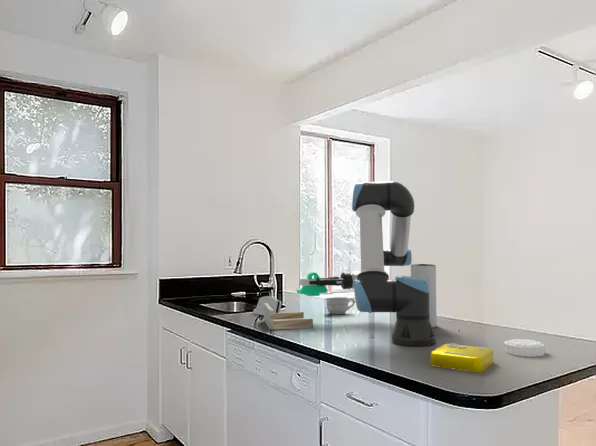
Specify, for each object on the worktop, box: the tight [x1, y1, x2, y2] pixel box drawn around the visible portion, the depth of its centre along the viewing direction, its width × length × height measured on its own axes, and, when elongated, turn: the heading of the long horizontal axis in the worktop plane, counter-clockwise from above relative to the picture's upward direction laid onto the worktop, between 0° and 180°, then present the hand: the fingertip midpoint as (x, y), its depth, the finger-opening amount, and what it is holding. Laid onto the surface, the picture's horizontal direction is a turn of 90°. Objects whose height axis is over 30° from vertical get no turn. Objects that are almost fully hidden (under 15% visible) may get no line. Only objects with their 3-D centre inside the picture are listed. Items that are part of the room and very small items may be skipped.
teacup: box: [325, 296, 356, 315], centre depth 249 cm, size 14×11×8 cm
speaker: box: [410, 263, 438, 328], centre depth 212 cm, size 11×10×26 cm
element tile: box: [429, 343, 494, 373], centre depth 149 cm, size 15×15×5 cm
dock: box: [263, 303, 314, 331], centre depth 221 cm, size 22×18×8 cm
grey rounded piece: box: [252, 295, 282, 316], centre depth 251 cm, size 17×5×10 cm, turn 37°
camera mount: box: [296, 271, 328, 297], centre depth 227 cm, size 12×8×10 cm, turn 107°
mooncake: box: [503, 338, 546, 358], centre depth 162 cm, size 12×12×4 cm
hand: (300, 282), depth 223 cm, fingers closed on camera mount, 3 cm apart
